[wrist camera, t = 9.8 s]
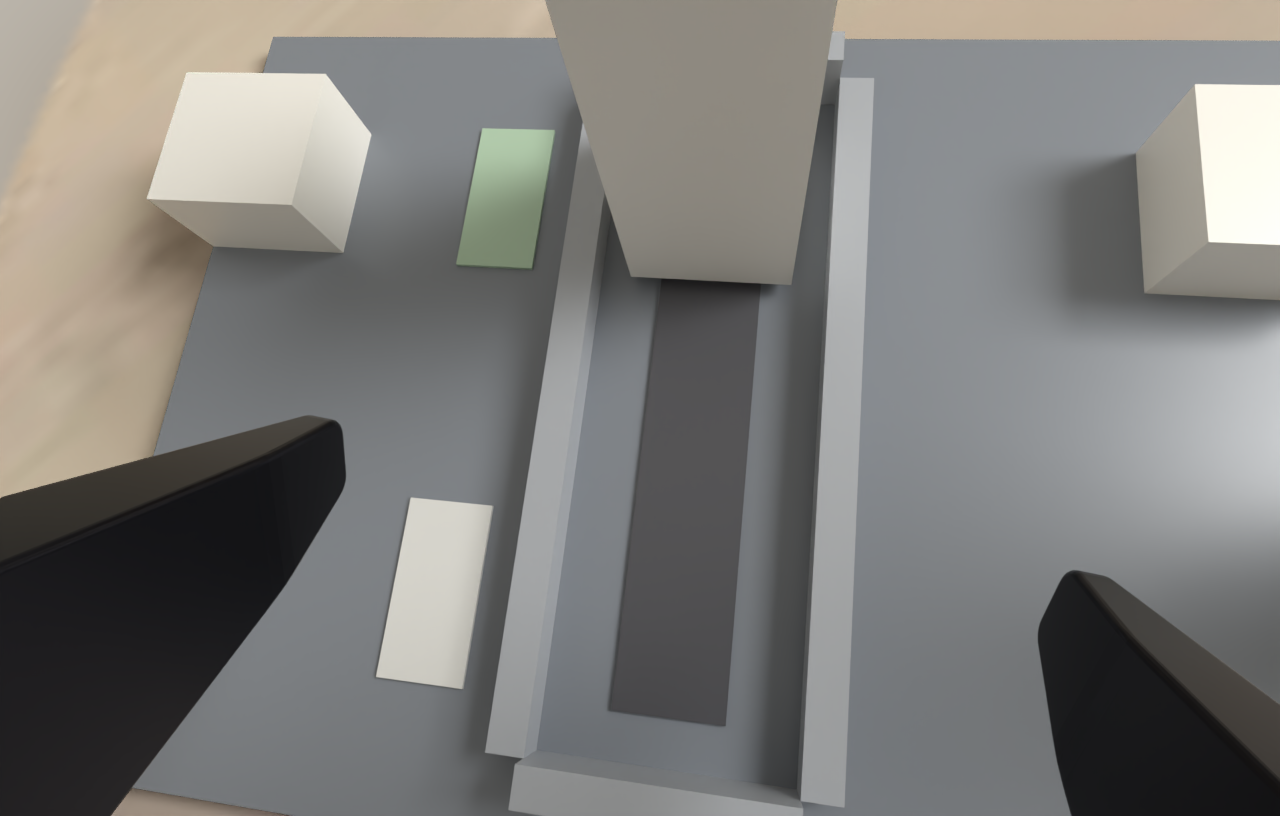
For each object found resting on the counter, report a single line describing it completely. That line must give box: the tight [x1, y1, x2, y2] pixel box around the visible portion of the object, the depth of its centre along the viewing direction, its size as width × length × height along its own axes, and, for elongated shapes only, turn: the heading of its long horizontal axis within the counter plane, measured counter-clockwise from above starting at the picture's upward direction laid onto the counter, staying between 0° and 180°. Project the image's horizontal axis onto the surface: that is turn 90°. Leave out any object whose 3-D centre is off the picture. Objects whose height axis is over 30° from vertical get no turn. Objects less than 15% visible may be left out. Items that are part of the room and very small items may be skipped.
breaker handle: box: [545, 0, 837, 285], centre depth 13 cm, size 4×4×11 cm
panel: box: [132, 32, 1280, 816], centre depth 17 cm, size 20×27×3 cm
